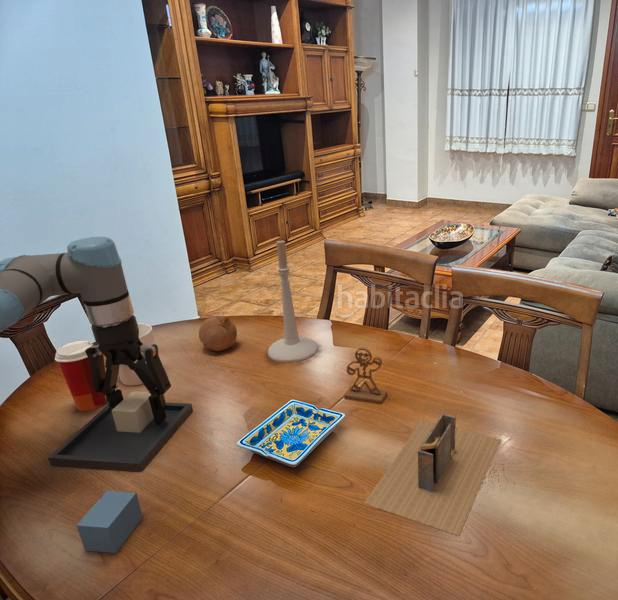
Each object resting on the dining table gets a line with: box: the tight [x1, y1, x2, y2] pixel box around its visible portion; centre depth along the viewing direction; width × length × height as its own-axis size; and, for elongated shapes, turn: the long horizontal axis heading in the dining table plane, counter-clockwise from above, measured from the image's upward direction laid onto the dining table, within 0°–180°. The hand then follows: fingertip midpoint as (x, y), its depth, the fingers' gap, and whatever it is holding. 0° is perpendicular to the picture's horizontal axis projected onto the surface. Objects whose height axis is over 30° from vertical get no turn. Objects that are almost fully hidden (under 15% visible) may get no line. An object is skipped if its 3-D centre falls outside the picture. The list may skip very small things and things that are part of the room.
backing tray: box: [47, 402, 194, 472], centre depth 101 cm, size 18×19×2 cm
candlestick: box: [267, 239, 319, 363], centre depth 128 cm, size 13×13×30 cm
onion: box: [198, 315, 238, 353], centre depth 135 cm, size 10×9×10 cm
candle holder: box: [118, 322, 155, 387], centre depth 121 cm, size 10×10×12 cm
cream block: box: [112, 390, 154, 433], centre depth 104 cm, size 5×7×5 cm
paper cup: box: [54, 340, 107, 412], centre depth 110 cm, size 8×8×14 cm
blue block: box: [76, 490, 144, 554], centre depth 78 cm, size 5×7×5 cm
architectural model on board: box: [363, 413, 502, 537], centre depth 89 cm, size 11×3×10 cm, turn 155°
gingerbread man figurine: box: [343, 347, 388, 405], centre depth 111 cm, size 9×4×12 cm, turn 73°
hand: (141, 420), depth 105 cm, fingers open, 8 cm apart
